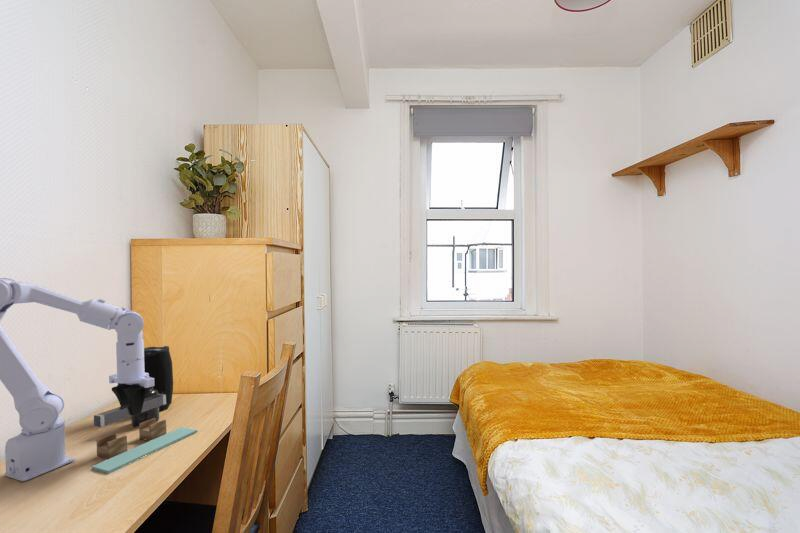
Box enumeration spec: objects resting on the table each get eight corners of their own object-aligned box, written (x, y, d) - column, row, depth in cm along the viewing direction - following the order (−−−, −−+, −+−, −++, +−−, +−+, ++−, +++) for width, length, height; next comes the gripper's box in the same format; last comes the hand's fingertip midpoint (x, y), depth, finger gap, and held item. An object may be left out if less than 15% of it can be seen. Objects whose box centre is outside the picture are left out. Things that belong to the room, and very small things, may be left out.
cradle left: (109, 460, 89) (109, 442, 89) (97, 456, 91) (96, 440, 91) (127, 452, 93) (126, 435, 93) (114, 449, 95) (114, 433, 95)
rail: (100, 427, 89) (100, 416, 89) (94, 426, 90) (93, 415, 90) (166, 403, 104) (165, 394, 104) (159, 402, 105) (159, 393, 105)
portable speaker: (139, 408, 124) (137, 348, 124) (173, 402, 129) (171, 343, 129) (139, 416, 117) (136, 352, 117) (174, 409, 122) (172, 347, 122)
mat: (108, 473, 83) (108, 470, 83) (91, 469, 86) (91, 466, 86) (197, 432, 104) (197, 429, 104) (181, 429, 106) (181, 427, 106)
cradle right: (151, 441, 99) (151, 425, 99) (139, 438, 101) (138, 423, 101) (166, 435, 102) (165, 420, 102) (154, 432, 104) (153, 417, 104)
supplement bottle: (164, 418, 115) (163, 378, 115) (147, 427, 108) (146, 385, 108) (143, 418, 115) (142, 378, 115) (125, 427, 109) (123, 385, 109)
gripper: (165, 357, 98) (167, 410, 98) (128, 354, 103) (130, 404, 103) (137, 364, 91) (138, 421, 91) (99, 360, 97) (101, 414, 97)
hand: (132, 413), depth 97 cm, fingers closed on rail, 2 cm apart
